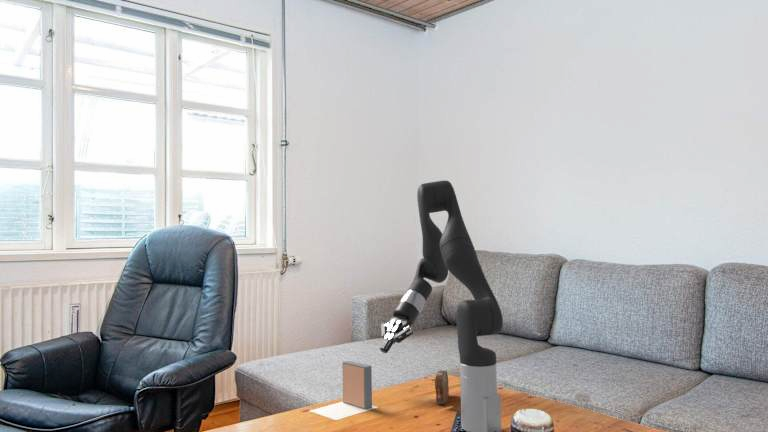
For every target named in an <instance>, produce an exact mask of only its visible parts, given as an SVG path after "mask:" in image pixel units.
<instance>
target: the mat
mask: <svg viewBox="0 0 768 432" xmlns="http://www.w3.org/2000/svg"><path fill="white" fill-rule="evenodd" d="M378 408H379V406H377V405H373V404H372V408H369V409H366V410H365V409H362V408H359V407H355V406H352V405H349V404H346V403H343V401H339V402H337V403H333V404H329V405H325V406H321V407H318V408H314V409H311V410H309V412H311V413H313V414H316V415H318V416H319V415H320V416H322V417H325V418H328V419H330V420H334V421H339V420H342V419H345V418H348V417H352V416H355V415H358V414H360V413H364V412H365V413H366V412H368V411H371V410H374V409H378Z"/></svg>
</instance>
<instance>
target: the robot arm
mask: <svg viewBox="0 0 768 432" xmlns="http://www.w3.org/2000/svg"><path fill="white" fill-rule="evenodd" d="M416 194H417V195H416V197H417V207H418V213H419V223H420V227H421V236H422V258H421V259H420V260H419V262H418V264H417V268H416V271H415V275H414V278H413V281H412V282H411V284H410V286H409V287H408V289H407V291H406V292H405V293H404V295H402V297H401V299H400V300H399V302H398V304H397V305H396V307H395V309H394V310H393V312H392V317H391V319H389V321H388V322H387V323H385V322H381V324H380V331H381V337H382V338H383V342H382V343H381V345H380V346H379V350H380V352H382V353H383V354H387V353H388V352H389V351H390V350H391V348H392V346H393V345H394V344H396V343H397V344H400V343H401V342H403V341H404V340H405V339H407V338H408V337H410V336H411V335H413V334H414V331H413V330H412V329H411V326H413V325H414V324H415V322H416V321H417V318H418V317H419V315H420V314H421V312H422V310H423V309H424V306H425V304H426V302H427V300H428V299H429V297H430V296H431V294H432V291H433V287H432V285H431V283H430V282H429V281H432V282H434V283H438V284H439V283H443V282H444V281H446V279H447V277H448V275H449V273H450V274H452V276H453V277H455V278H456V279H457V280H458V281H459V282H460V283H461V284H462V285H463V286H464V287H466V289H468V291H469V292H470V293H471V295H472V297H473V299H468V300H467V299H466V300H463V301H460V302H459V303H458V305H457V309H456V316H455V317H456V319H455V320H456V334H457V349H458V354H459V375H460V376H459V377H460V379H459V380H460V381H459V382H460V383H459V384H460V387H459V388H460V421H461V422H460V423H461V424H460V427H462V429H464V430H466V431H471V432H494V431H497V432H502V412H501V411H502V410H501V409H502V407H501V406H502V405H501V403H502V402H501V401H502V400H501V394H500V393H498V383H497V382H498V381H497V379H498V378H497V376H498V375H497V374H498V373H497V353H496V352H495V351H494V350H492V349H490V348H486V347H484V346H482V345H480V344H479V343H478V337H485V336H494V335H497V334H499V333H500V332H501V331H502V329H503V326H504V325H503V324H504V320H503V313H502V311H501V307H500V305H499V302H498V300H497V298H496V296H495V294H494V292H493V290H492V288H491V287H490V284H489V282H488V281H487V278H486V275H485V273H484V271H483V269H482V266H481V264H480V263H481V262H480V261H479V258H478V255H477V252H476V249H475V246H474V244H473V241H472V238H471V236H470V234H469V232H468V229H467V227H466V225H465V221H464V218H463V216H462V212H461V210H460V205H459V201H458V198H457V194H456V191H455V189H454V187H453V185H452V183H451V182H450V181H449V180H438V181H429V182H425V183H421V184H420V185H419V186H418V188H417V193H416ZM439 212H440V213H441V212H447V215H448V216H447V217H448V218H447V222H446V224H445V227H444V230H443V232H442V231H441V230H440V228H439V226H437V225H436V224H435V223H434V221H433V220H432V218H431V215H430V214H431V213H433V214H434V213H439ZM426 279H427V280H429V281H427V280H426Z"/></svg>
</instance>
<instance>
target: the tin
mask: <svg viewBox="0 0 768 432" xmlns="http://www.w3.org/2000/svg"><path fill="white" fill-rule="evenodd" d="M448 377H449V376H448V372H447V370H437V372H436V375H435V378H434V379H435V380H434V388H435V397H436V399H435V402H436V404H437V405H446V404H447V403H448V400H449V394H450V393H449V391H450V390H449V389H450V388H449V378H448Z"/></svg>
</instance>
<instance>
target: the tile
mask: <svg viewBox="0 0 768 432" xmlns="http://www.w3.org/2000/svg"><path fill="white" fill-rule="evenodd" d="M372 372H373V371H372V365H370V364H365V363H362V362H361V363H360V362H357V361H356V362H355V361H351V360H347V361H342V402H343V403H346V404H349V405H352V406H355V407H359V408H362V409H365V410H366V409H369V408H372V405H373V393H372V391H373V390H372V389H373V387H372V385H373V384H372V383H373V382H372V381H373V377H372Z"/></svg>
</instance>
